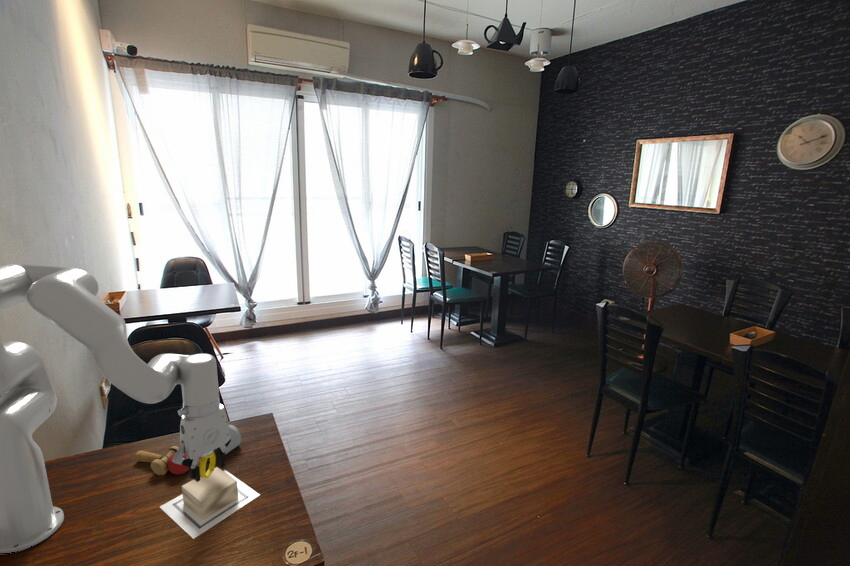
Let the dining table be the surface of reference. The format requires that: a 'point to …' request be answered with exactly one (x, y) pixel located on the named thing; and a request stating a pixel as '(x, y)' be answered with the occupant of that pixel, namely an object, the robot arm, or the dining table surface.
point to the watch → (203, 464)
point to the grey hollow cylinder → (233, 439)
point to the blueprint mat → (198, 526)
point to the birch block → (210, 493)
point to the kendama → (162, 461)
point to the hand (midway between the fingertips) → (208, 471)
